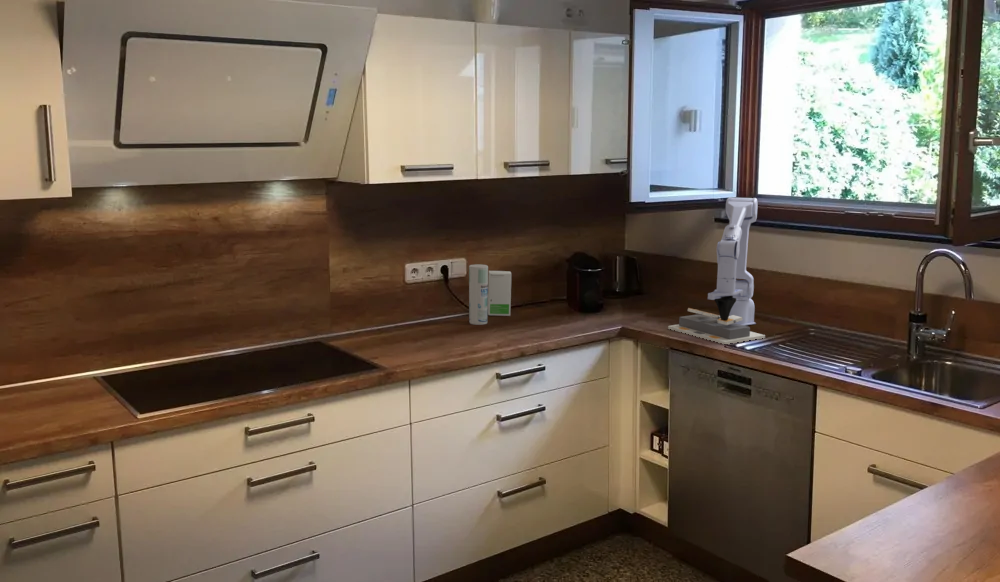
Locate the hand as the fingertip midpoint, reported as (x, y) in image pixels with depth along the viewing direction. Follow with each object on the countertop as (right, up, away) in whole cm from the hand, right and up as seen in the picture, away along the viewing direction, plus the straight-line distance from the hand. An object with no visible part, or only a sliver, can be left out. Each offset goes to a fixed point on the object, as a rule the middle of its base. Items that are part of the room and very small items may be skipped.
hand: (724, 319), depth 277 cm
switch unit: (-1, -5, +9) cm, 10 cm away
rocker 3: (+2, -1, +2) cm, 3 cm away
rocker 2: (-1, 0, +7) cm, 8 cm away
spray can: (-79, -2, +23) cm, 82 cm away
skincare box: (-72, +1, +37) cm, 81 cm away
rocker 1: (-5, +2, +13) cm, 14 cm away
